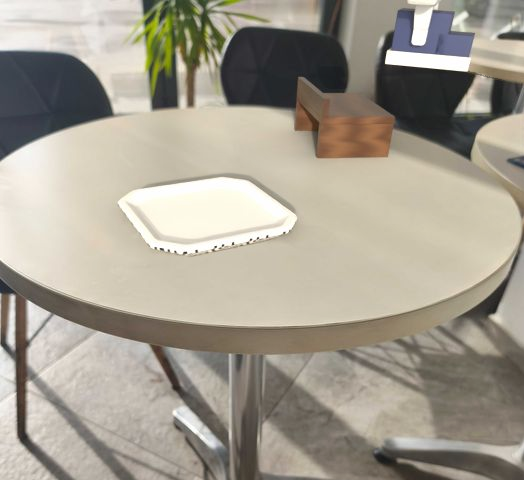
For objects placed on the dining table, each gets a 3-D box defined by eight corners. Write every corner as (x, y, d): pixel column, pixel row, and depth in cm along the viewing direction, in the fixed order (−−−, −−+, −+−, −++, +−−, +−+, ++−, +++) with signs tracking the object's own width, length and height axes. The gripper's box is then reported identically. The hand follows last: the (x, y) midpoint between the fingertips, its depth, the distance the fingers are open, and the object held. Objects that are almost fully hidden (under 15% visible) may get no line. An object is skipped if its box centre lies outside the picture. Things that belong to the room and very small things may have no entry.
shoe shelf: (355, 128, 110) (362, 77, 104) (387, 157, 95) (398, 98, 89) (294, 129, 108) (298, 76, 102) (317, 158, 93) (323, 98, 87)
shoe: (468, 66, 69) (482, 13, 65) (467, 71, 66) (481, 15, 62) (390, 59, 72) (399, 7, 68) (384, 63, 69) (393, 9, 65)
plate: (309, 239, 66) (310, 224, 64) (160, 272, 58) (158, 255, 56) (240, 187, 80) (240, 173, 78) (112, 207, 72) (110, 192, 70)
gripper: (471, -102, 50) (437, 54, 59) (477, -87, 66) (449, 36, 74) (409, -103, 52) (384, 49, 61) (429, -87, 67) (407, 33, 76)
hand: (420, 42), depth 68 cm, fingers closed on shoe, 4 cm apart
